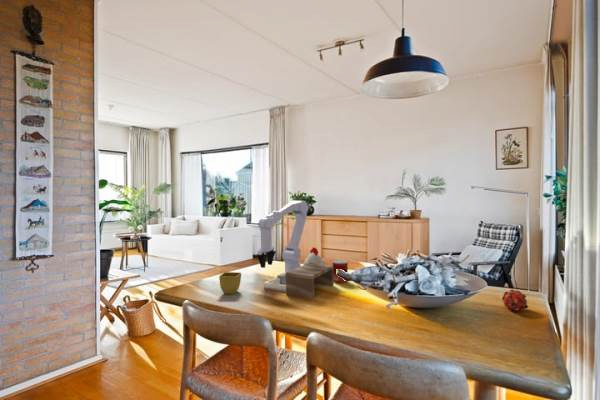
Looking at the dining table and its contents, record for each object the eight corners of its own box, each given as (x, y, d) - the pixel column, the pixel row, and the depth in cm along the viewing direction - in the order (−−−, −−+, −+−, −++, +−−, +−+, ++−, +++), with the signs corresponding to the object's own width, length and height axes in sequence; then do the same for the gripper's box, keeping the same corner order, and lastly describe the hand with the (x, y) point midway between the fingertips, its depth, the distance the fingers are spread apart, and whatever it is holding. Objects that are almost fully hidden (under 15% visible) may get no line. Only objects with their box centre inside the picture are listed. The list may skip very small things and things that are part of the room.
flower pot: (242, 290, 169) (241, 272, 169) (237, 295, 160) (236, 276, 160) (224, 289, 170) (224, 272, 170) (219, 295, 161) (218, 276, 161)
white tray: (280, 281, 185) (280, 270, 185) (301, 283, 179) (301, 272, 179) (263, 288, 171) (263, 276, 171) (285, 292, 165) (285, 279, 165)
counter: (309, 282, 182) (309, 263, 181) (333, 285, 175) (333, 265, 175) (286, 294, 161) (285, 272, 160) (312, 299, 154) (312, 275, 154)
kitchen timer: (310, 276, 195) (309, 250, 195) (298, 271, 207) (298, 247, 207) (330, 273, 202) (330, 248, 202) (318, 268, 214) (317, 245, 214)
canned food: (348, 283, 179) (348, 262, 178) (333, 283, 179) (333, 262, 179) (346, 279, 186) (346, 259, 186) (332, 279, 187) (332, 259, 186)
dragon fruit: (516, 309, 142) (516, 322, 132) (497, 295, 145) (496, 307, 135) (531, 295, 138) (532, 308, 128) (511, 281, 141) (511, 293, 131)
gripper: (266, 238, 188) (266, 262, 188) (252, 242, 175) (252, 268, 175) (277, 238, 185) (277, 263, 185) (264, 242, 172) (264, 269, 172)
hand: (266, 266), depth 180 cm, fingers open, 7 cm apart
